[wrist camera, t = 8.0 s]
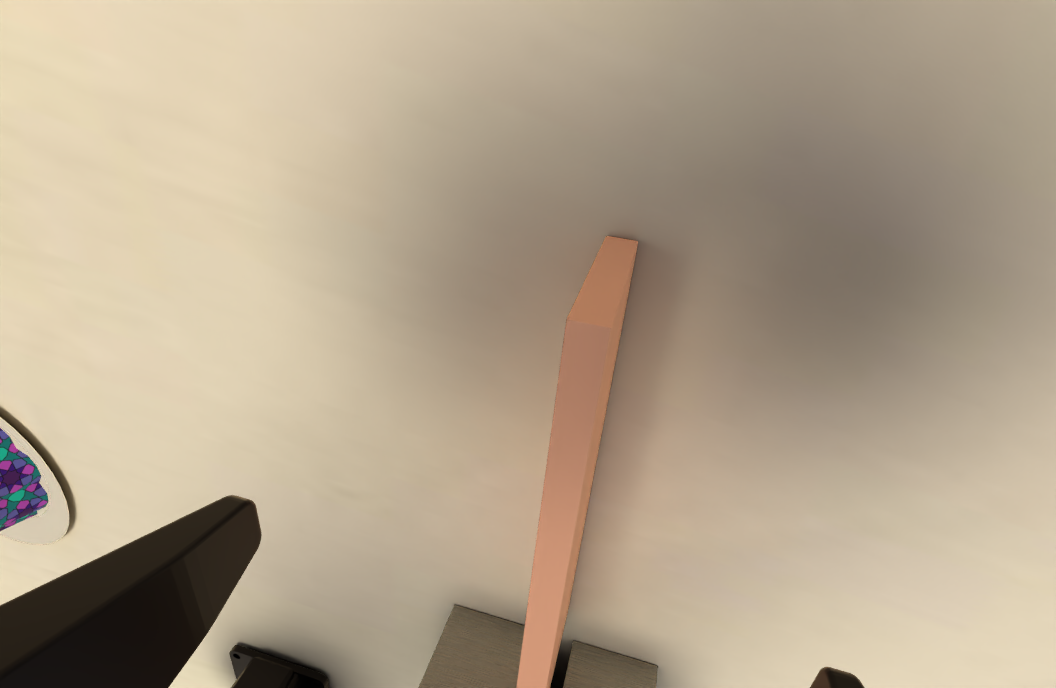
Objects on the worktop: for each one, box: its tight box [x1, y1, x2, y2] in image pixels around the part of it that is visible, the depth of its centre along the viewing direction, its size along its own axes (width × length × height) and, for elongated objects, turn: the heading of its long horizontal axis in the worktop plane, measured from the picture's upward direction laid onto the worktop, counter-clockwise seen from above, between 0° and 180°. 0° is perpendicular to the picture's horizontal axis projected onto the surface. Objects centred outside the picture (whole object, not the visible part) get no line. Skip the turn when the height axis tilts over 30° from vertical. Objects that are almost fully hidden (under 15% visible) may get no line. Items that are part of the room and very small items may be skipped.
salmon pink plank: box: [516, 236, 638, 688], centre depth 20 cm, size 18×1×6 cm, turn 175°
